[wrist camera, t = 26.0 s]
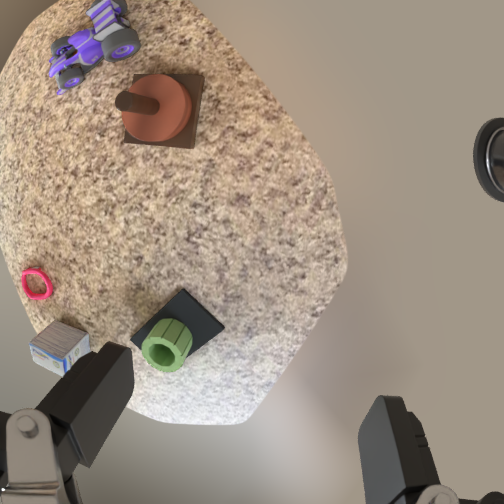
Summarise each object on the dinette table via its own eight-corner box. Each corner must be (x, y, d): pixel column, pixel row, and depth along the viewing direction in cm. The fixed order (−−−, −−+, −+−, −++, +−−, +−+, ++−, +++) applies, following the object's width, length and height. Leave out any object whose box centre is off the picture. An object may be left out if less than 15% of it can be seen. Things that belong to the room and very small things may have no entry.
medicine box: (58, 337, 50) (32, 362, 41) (55, 318, 48) (27, 342, 40) (91, 351, 49) (66, 380, 41) (89, 332, 48) (62, 360, 40)
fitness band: (46, 264, 45) (41, 267, 43) (57, 296, 46) (52, 299, 45) (20, 269, 46) (15, 272, 44) (31, 297, 48) (26, 301, 46)
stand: (205, 77, 33) (174, 55, 23) (193, 148, 36) (159, 150, 26) (138, 76, 34) (94, 60, 24) (129, 142, 37) (81, 145, 27)
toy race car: (51, 54, 33) (24, 48, 27) (129, -1, 30) (107, -18, 24) (63, 102, 36) (34, 100, 29) (147, 47, 32) (123, 33, 26)
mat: (183, 287, 42) (182, 289, 42) (224, 327, 44) (224, 329, 43) (131, 337, 47) (129, 339, 46) (167, 370, 48) (166, 372, 47)
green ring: (193, 323, 43) (183, 343, 39) (191, 356, 45) (181, 377, 41) (154, 313, 44) (140, 331, 39) (154, 346, 46) (142, 365, 41)
